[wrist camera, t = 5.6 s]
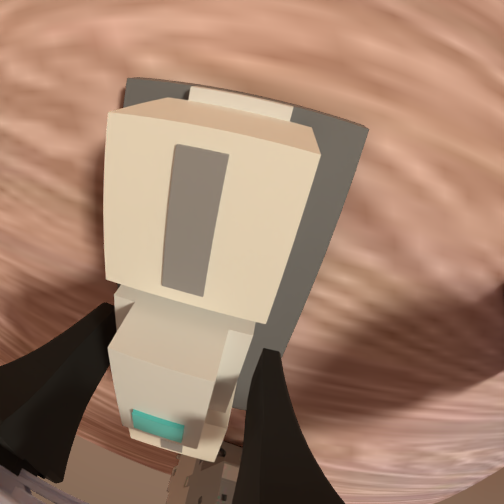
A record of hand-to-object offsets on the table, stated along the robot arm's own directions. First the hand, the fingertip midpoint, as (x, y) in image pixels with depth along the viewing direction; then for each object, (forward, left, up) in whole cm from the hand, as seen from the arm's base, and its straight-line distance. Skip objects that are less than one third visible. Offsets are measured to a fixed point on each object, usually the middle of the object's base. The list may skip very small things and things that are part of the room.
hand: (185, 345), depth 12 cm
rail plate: (0, 0, -4) cm, 4 cm away
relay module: (0, 0, -3) cm, 3 cm away
